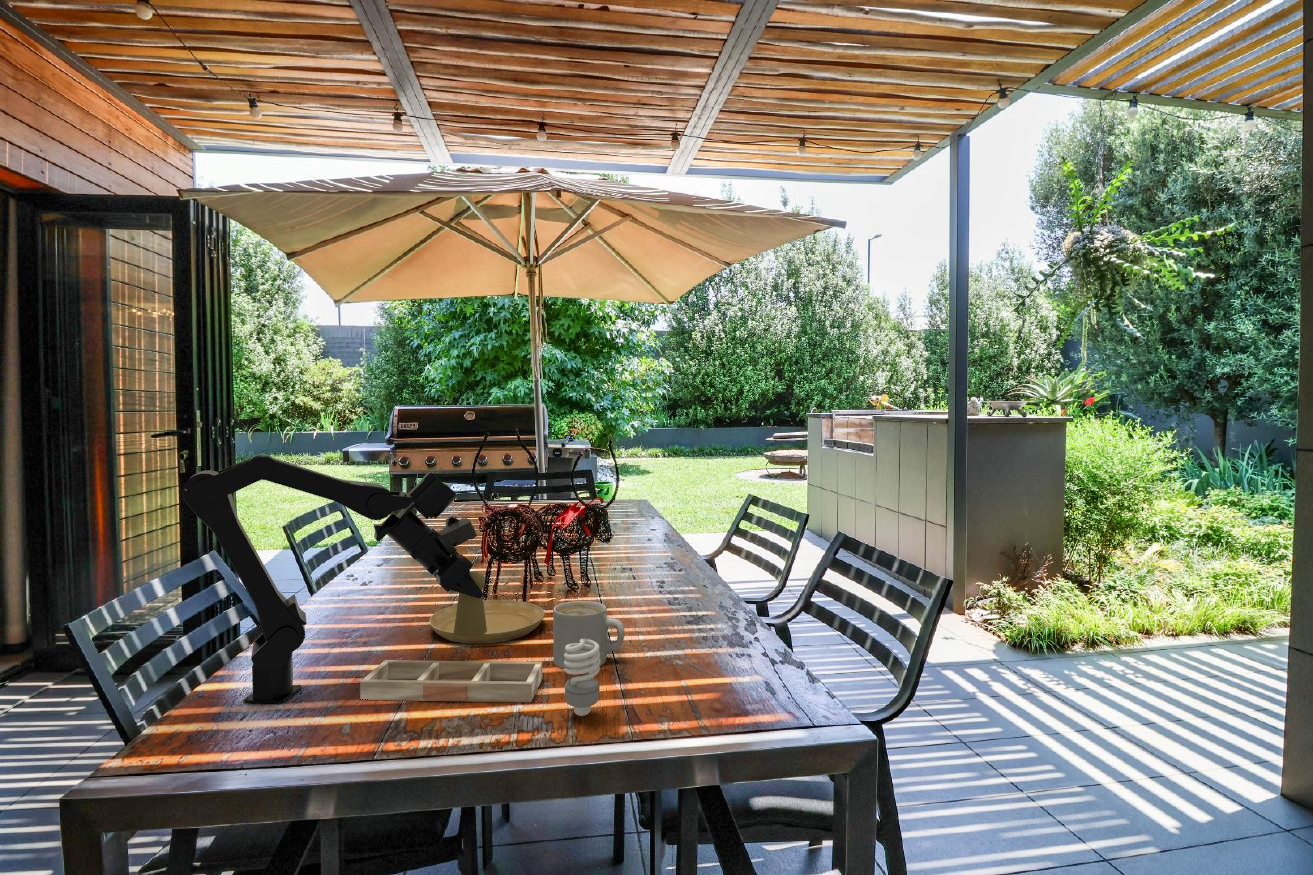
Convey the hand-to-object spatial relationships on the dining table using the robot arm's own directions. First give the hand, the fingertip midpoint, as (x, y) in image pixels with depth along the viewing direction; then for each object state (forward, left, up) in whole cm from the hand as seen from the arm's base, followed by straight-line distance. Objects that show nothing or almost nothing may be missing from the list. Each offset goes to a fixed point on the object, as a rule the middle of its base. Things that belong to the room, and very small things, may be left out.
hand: (478, 592), depth 134 cm
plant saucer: (+21, +4, -14) cm, 25 cm away
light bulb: (-22, -22, -13) cm, 34 cm away
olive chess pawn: (-1, +1, -7) cm, 7 cm away
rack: (-12, +1, -13) cm, 18 cm away
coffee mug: (+2, -20, -13) cm, 24 cm away
